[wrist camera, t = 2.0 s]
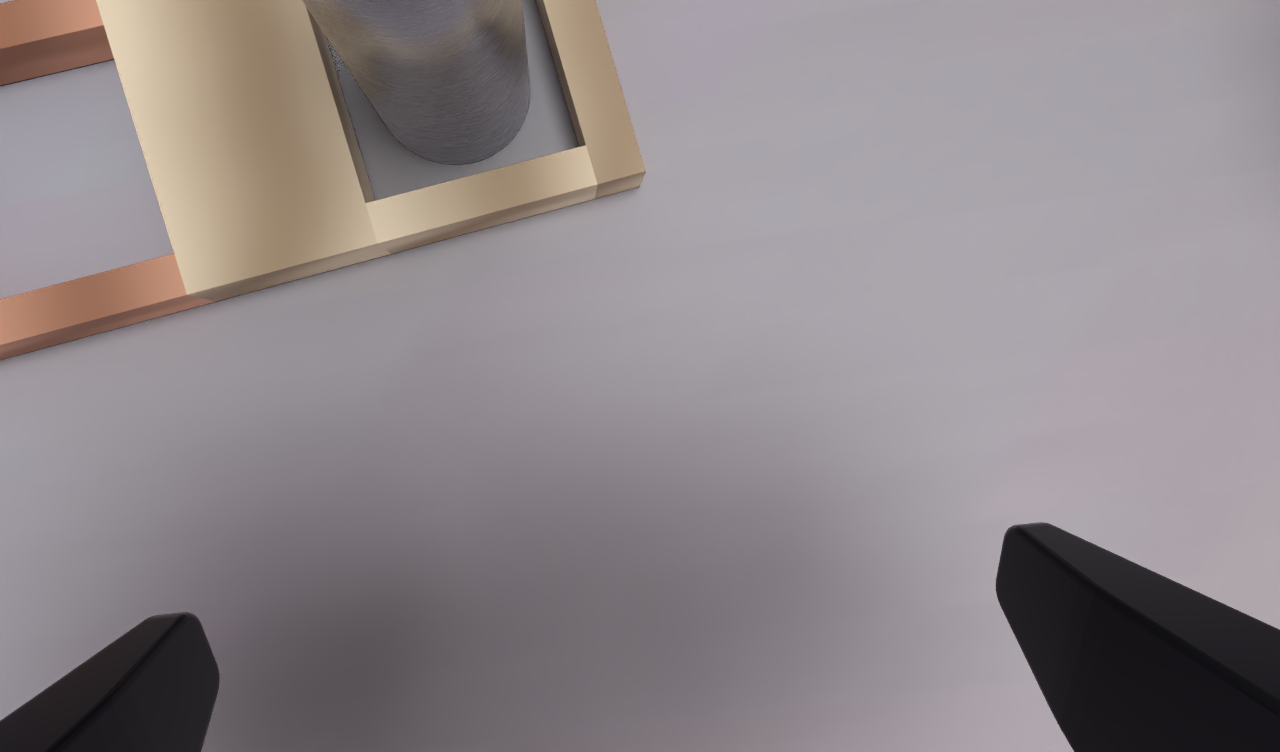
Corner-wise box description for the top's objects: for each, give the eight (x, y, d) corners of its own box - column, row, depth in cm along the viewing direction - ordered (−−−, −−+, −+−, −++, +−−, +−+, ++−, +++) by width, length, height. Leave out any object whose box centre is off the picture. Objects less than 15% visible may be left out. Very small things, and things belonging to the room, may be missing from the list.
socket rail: (-64, 377, 19) (-119, 376, 17) (-159, 80, 18) (-223, 53, 17) (639, 186, 20) (645, 171, 19) (559, -85, 20) (559, -122, 19)
